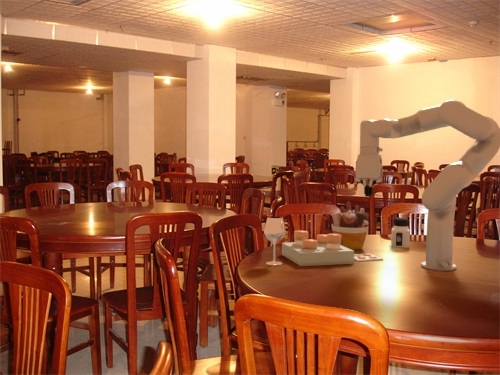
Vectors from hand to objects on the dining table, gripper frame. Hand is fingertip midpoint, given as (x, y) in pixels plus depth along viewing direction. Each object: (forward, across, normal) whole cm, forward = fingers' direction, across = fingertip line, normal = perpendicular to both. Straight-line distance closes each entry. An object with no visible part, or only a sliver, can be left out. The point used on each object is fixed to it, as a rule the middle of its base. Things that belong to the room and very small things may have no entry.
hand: (368, 196), depth 222 cm
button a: (+22, +10, +13) cm, 27 cm away
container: (+26, -5, -35) cm, 44 cm away
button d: (+22, +24, +13) cm, 35 cm away
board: (+25, +17, +13) cm, 33 cm away
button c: (+24, +17, +20) cm, 35 cm away
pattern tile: (+25, +1, +1) cm, 25 cm away
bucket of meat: (+25, +14, -17) cm, 34 cm away
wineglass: (+25, +27, +30) cm, 48 cm away
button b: (+24, +17, +6) cm, 29 cm away
